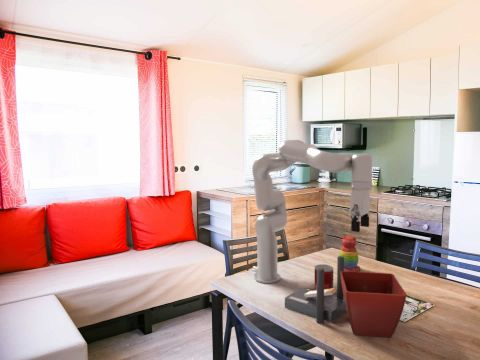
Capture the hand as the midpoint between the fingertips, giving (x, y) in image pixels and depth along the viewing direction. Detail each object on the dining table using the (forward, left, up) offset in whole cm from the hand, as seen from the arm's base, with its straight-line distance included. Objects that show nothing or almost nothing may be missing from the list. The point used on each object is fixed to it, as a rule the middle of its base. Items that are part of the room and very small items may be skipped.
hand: (360, 228), depth 145 cm
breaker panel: (-12, -14, -31) cm, 36 cm away
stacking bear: (-19, +34, -31) cm, 50 cm away
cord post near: (-5, -22, -31) cm, 39 cm away
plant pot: (+10, -15, -31) cm, 36 cm away
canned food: (-17, +3, -31) cm, 36 cm away
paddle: (-10, -14, -24) cm, 30 cm away
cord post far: (-5, -5, -31) cm, 32 cm away
